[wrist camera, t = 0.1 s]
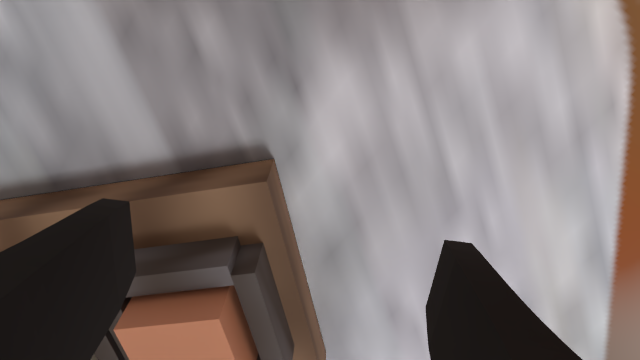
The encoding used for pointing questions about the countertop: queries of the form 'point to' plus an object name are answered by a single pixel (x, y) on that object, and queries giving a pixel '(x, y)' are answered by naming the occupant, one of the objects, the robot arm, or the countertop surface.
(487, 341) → the robot arm
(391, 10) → the countertop surface
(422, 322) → the countertop surface
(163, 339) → the terracotta button
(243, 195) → the button panel
